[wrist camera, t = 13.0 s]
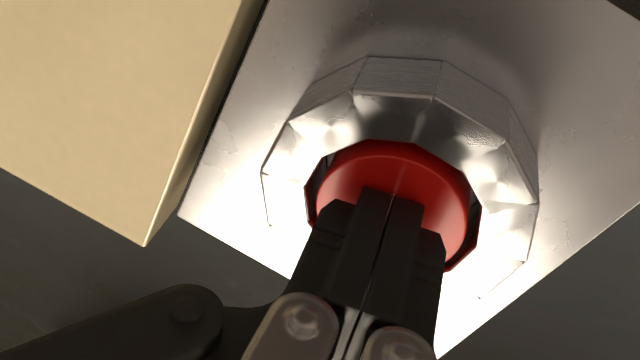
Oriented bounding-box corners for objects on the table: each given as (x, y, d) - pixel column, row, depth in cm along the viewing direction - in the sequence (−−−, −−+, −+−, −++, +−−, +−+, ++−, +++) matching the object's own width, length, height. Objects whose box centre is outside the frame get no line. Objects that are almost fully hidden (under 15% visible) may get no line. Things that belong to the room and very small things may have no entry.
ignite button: (375, 90, 13) (358, 127, 12) (502, 166, 13) (500, 211, 12) (312, 186, 15) (292, 227, 14) (421, 250, 16) (412, 295, 14)
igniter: (365, -178, 12) (313, -159, 9) (736, 58, 13) (805, 152, 10) (205, 177, 20) (147, 252, 17) (442, 312, 20) (428, 410, 17)
